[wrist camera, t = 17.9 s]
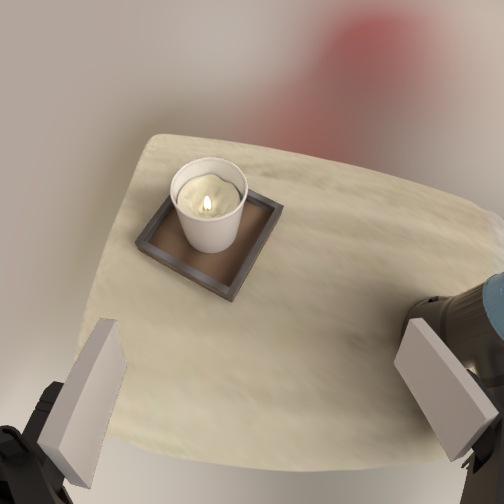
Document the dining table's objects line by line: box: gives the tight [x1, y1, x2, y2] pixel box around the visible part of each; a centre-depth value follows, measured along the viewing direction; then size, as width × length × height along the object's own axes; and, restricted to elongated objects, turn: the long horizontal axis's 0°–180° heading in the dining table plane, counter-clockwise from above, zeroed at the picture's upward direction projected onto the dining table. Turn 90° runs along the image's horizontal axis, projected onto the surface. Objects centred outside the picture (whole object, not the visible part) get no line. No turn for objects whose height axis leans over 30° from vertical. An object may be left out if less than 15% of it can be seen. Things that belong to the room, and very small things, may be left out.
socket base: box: [135, 189, 284, 302], centre depth 48 cm, size 17×17×3 cm
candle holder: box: [170, 157, 248, 254], centre depth 43 cm, size 10×10×12 cm
